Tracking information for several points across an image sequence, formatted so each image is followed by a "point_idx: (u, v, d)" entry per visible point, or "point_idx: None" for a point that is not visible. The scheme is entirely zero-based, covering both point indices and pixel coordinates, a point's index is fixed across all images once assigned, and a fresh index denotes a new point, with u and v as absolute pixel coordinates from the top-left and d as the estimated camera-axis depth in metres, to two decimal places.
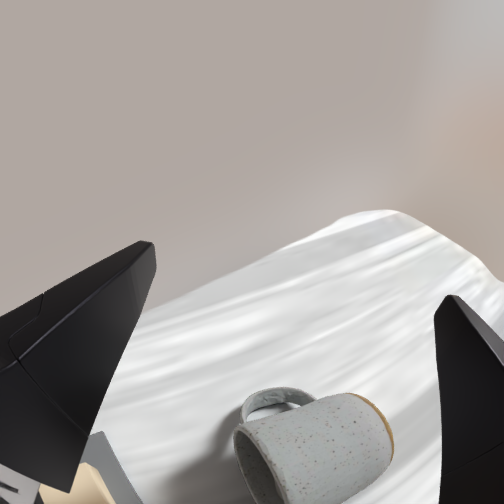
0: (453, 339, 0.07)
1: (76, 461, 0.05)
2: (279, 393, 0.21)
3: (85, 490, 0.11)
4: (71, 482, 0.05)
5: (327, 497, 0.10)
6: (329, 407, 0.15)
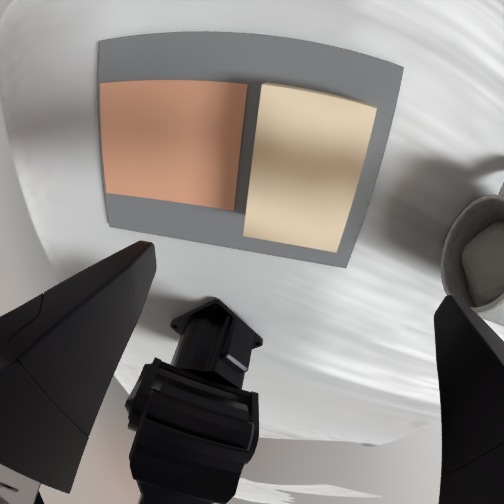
0: (453, 339, 0.07)
1: (76, 461, 0.05)
2: None
3: (351, 138, 0.13)
4: (71, 482, 0.05)
5: (486, 318, 0.14)
6: None
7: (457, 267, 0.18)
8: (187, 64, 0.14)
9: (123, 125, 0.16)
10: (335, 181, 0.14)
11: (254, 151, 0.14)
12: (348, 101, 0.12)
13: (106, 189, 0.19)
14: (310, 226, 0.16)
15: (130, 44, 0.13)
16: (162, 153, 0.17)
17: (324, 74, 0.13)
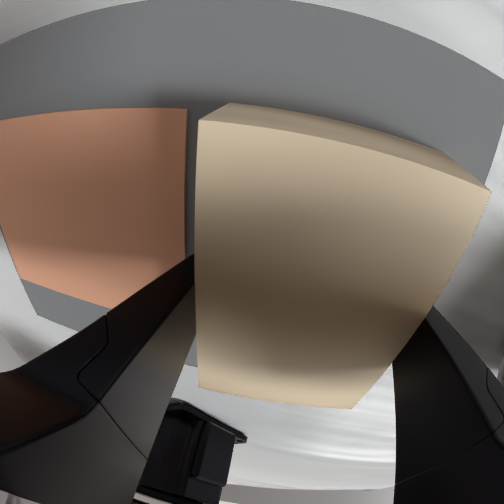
0: None
1: (135, 486, 0.05)
2: None
3: (423, 260, 0.05)
4: None
5: None
6: None
7: None
8: (76, 78, 0.06)
9: (11, 191, 0.08)
10: (371, 335, 0.07)
11: (197, 281, 0.06)
12: (436, 171, 0.04)
13: (19, 273, 0.11)
14: (313, 387, 0.08)
15: (4, 57, 0.05)
16: (68, 237, 0.09)
17: (362, 84, 0.06)
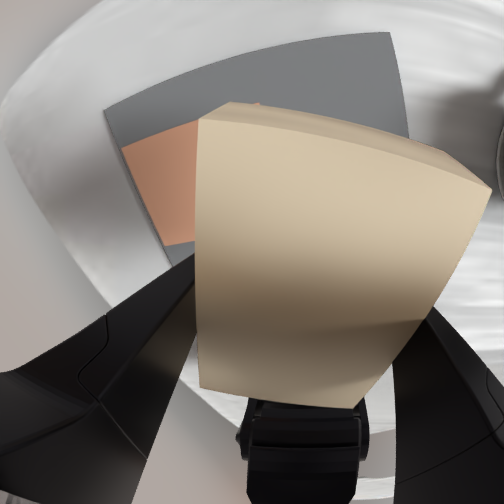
0: None
1: (134, 486, 0.05)
2: None
3: (424, 259, 0.05)
4: None
5: None
6: None
7: None
8: (196, 103, 0.15)
9: (158, 179, 0.18)
10: (372, 334, 0.07)
11: (197, 281, 0.06)
12: (436, 169, 0.04)
13: (163, 243, 0.22)
14: (314, 386, 0.08)
15: (134, 104, 0.16)
16: None
17: (323, 67, 0.13)
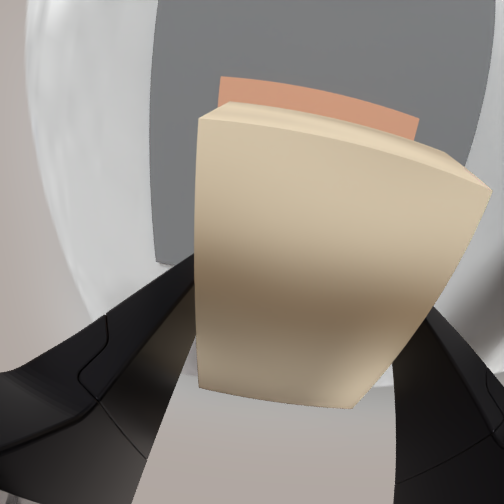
0: None
1: (135, 486, 0.05)
2: None
3: (424, 260, 0.05)
4: None
5: None
6: None
7: None
8: (192, 155, 0.12)
9: None
10: (372, 335, 0.07)
11: (197, 281, 0.06)
12: (436, 170, 0.04)
13: None
14: (313, 387, 0.08)
15: (163, 226, 0.14)
16: None
17: None
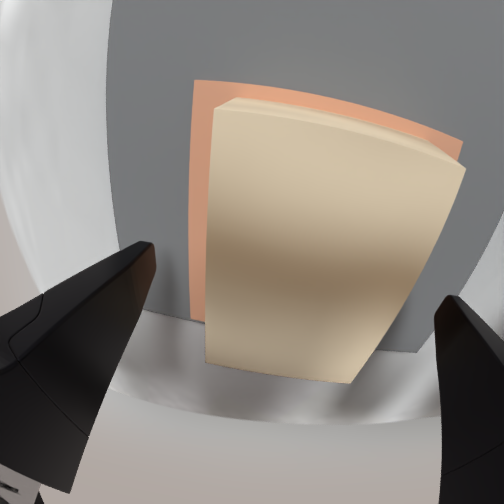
0: (453, 339, 0.07)
1: (76, 461, 0.05)
2: None
3: (407, 230, 0.06)
4: (71, 482, 0.05)
5: None
6: None
7: None
8: (161, 187, 0.09)
9: None
10: (365, 303, 0.08)
11: (208, 251, 0.07)
12: (413, 151, 0.05)
13: None
14: (313, 358, 0.09)
15: None
16: None
17: None
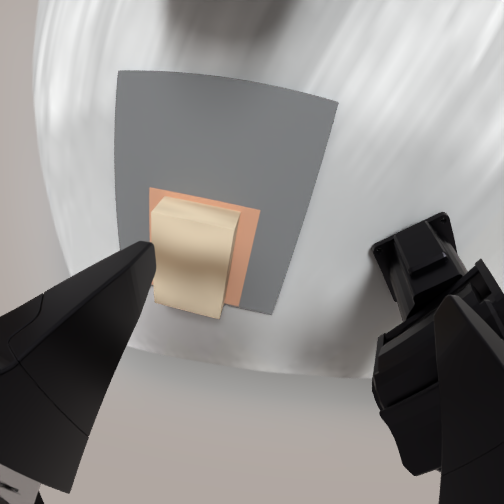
0: (453, 339, 0.07)
1: (76, 461, 0.05)
2: None
3: (216, 250, 0.19)
4: (71, 482, 0.05)
5: None
6: None
7: None
8: (139, 225, 0.22)
9: None
10: (209, 277, 0.21)
11: None
12: (212, 225, 0.18)
13: (235, 305, 0.25)
14: (197, 301, 0.22)
15: None
16: None
17: (135, 132, 0.18)
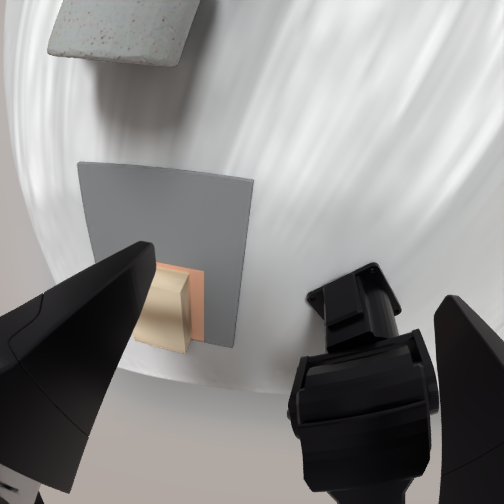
0: (453, 339, 0.07)
1: (76, 461, 0.05)
2: None
3: (170, 306, 0.23)
4: (71, 482, 0.05)
5: (142, 17, 0.09)
6: None
7: None
8: None
9: None
10: (170, 324, 0.25)
11: None
12: (163, 289, 0.22)
13: (201, 340, 0.29)
14: (166, 341, 0.26)
15: None
16: None
17: (99, 213, 0.22)
